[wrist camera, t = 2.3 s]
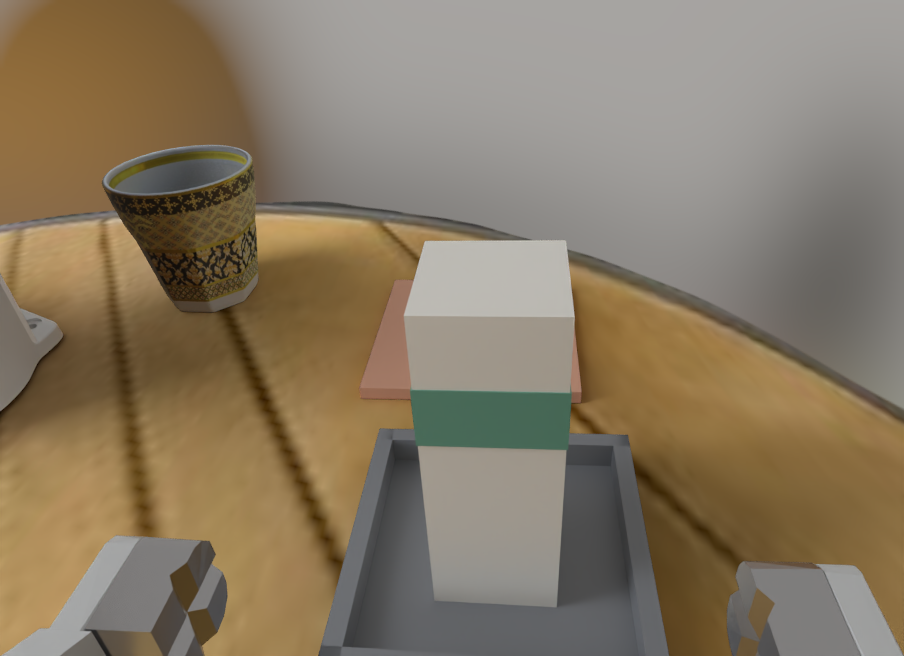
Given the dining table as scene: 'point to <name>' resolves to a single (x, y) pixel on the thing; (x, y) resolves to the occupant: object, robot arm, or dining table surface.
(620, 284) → the dining table surface
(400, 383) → the mat
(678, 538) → the dining table surface
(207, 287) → the ceramic cup
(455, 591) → the labelled box
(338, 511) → the dining table surface
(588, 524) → the parts tray
